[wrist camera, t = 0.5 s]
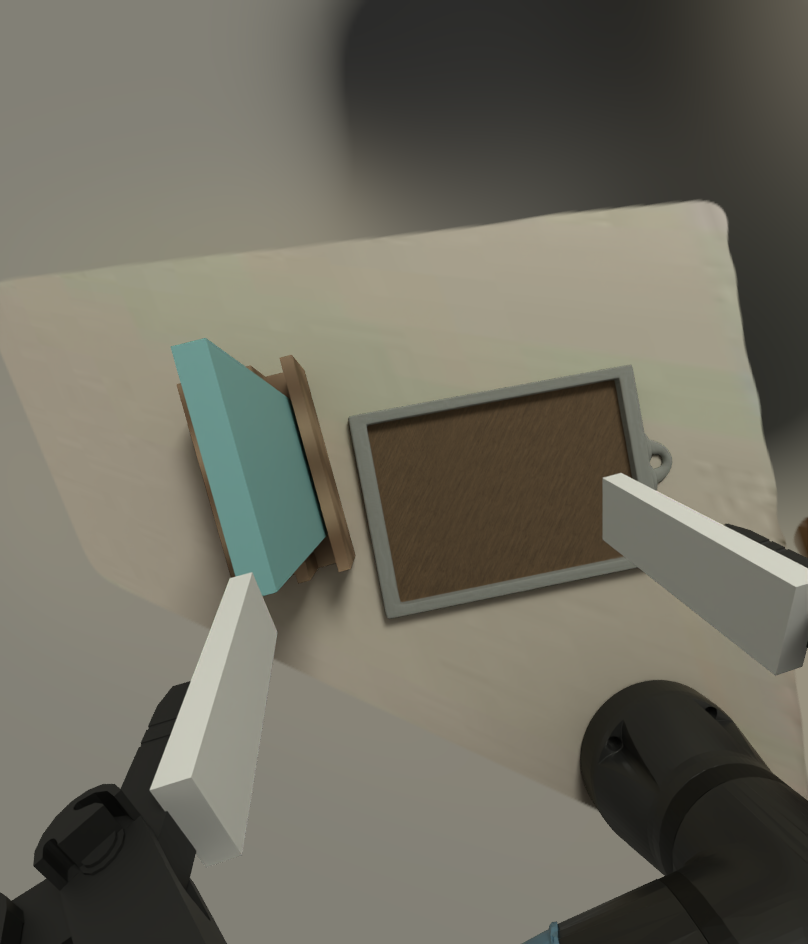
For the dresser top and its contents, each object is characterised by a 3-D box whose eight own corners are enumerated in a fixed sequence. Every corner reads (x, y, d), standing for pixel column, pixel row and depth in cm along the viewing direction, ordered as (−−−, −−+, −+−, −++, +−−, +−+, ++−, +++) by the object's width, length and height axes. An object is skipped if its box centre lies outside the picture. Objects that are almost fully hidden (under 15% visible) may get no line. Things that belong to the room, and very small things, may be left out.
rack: (355, 555, 37) (350, 568, 32) (257, 582, 37) (237, 600, 32) (304, 370, 37) (291, 354, 32) (205, 395, 36) (176, 384, 31)
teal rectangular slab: (330, 530, 36) (276, 591, 18) (314, 535, 36) (242, 601, 18) (295, 403, 36) (205, 337, 18) (278, 407, 36) (170, 346, 18)
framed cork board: (347, 416, 36) (659, 358, 37) (348, 418, 38) (648, 363, 39) (386, 620, 36) (695, 556, 38) (386, 614, 38) (682, 552, 39)
